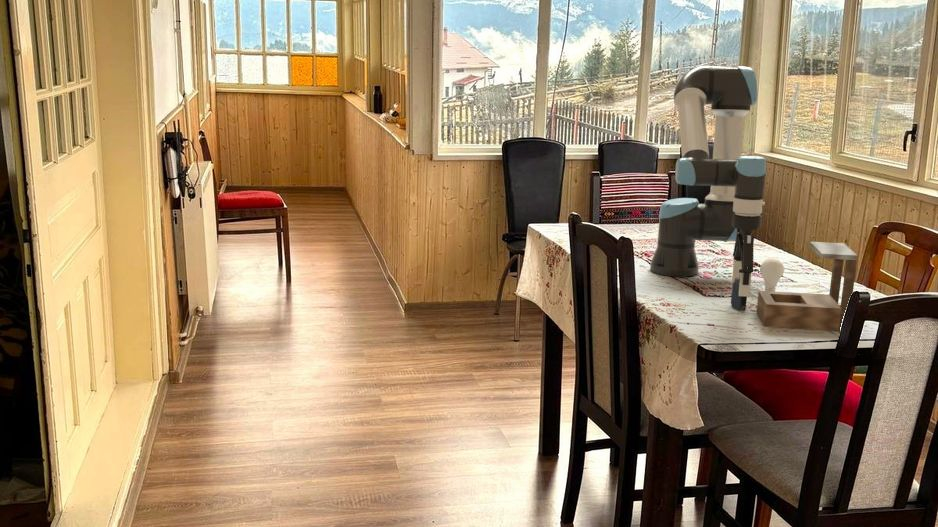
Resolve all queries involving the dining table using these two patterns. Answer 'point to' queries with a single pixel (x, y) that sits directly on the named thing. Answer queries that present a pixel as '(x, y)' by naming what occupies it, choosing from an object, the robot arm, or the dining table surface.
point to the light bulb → (771, 272)
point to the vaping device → (737, 296)
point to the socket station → (812, 296)
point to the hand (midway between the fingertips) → (740, 289)
